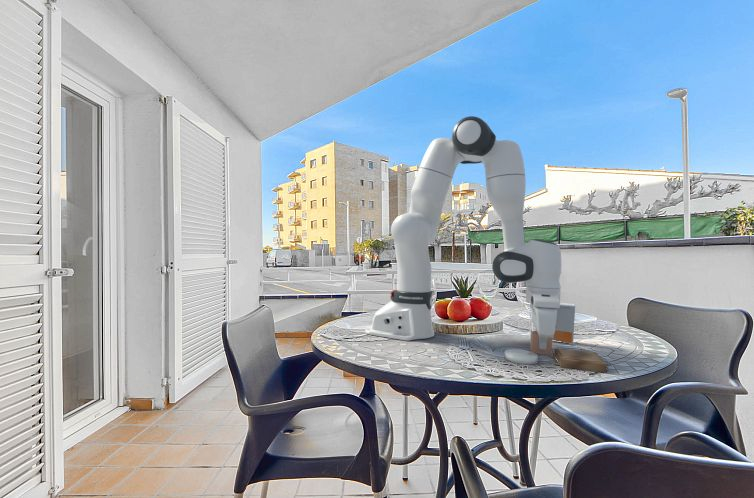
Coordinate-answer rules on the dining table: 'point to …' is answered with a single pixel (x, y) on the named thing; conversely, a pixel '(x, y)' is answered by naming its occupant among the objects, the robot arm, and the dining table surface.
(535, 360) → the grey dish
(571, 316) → the skincare box
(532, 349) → the terracotta cube
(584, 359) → the walnut coaster
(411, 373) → the dining table surface
